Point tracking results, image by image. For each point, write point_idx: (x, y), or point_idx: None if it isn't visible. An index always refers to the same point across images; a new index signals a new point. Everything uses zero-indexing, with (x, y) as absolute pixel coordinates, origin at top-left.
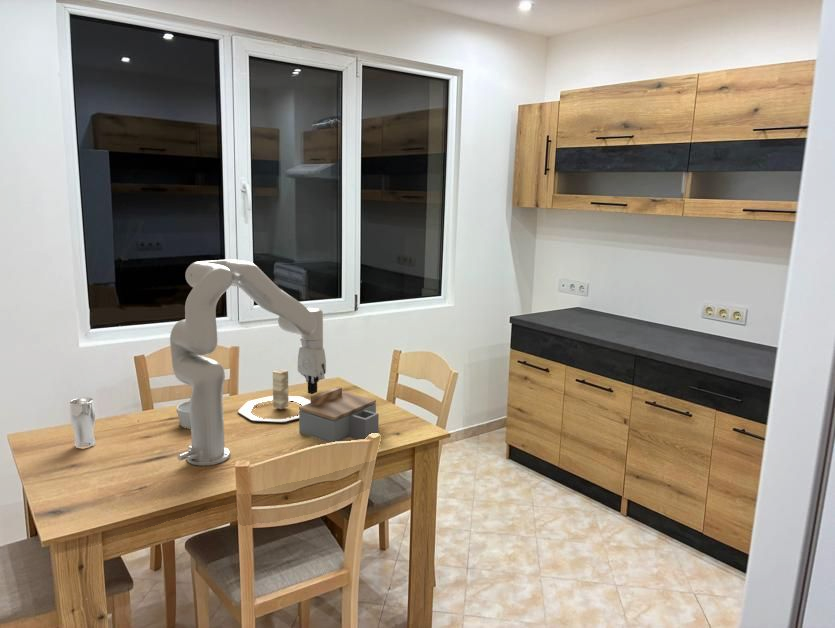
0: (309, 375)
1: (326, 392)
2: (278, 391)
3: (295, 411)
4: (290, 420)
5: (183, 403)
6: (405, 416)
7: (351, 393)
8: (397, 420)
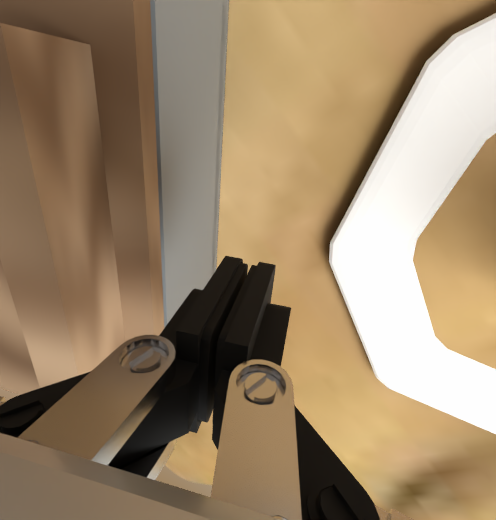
0: (3, 446)
1: (24, 275)
2: None
3: (465, 281)
4: (401, 109)
5: None
6: None
7: None
8: None
